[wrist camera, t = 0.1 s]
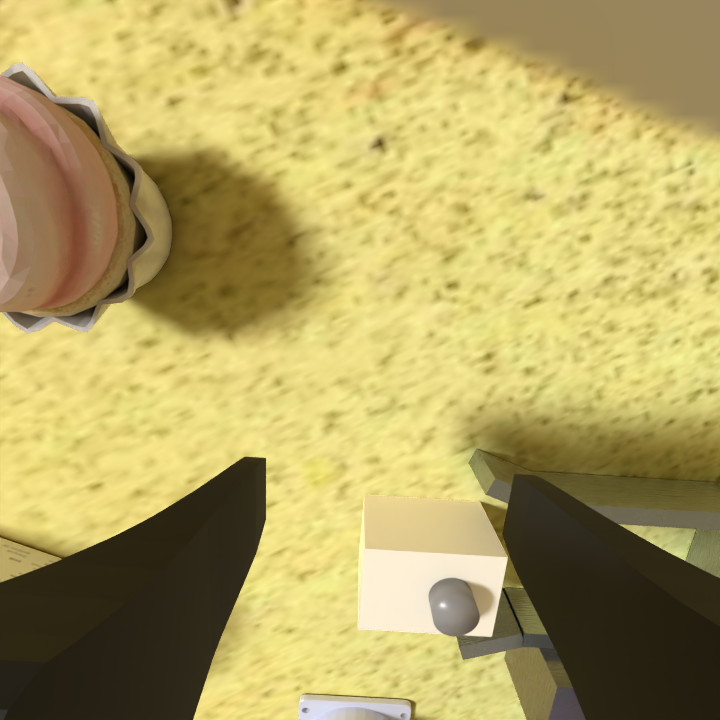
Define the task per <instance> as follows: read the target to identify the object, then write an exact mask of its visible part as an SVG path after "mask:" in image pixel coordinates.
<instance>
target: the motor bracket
mask: <svg viewBox="0 0 720 720" xmlns="http://www.w3.org/2000/svg"><path fill="white" fill-rule="evenodd" d="M469 465H470V466H471V468H472V470H473V472H474V474H475V476H476V477H477V479H478V481H479V483H480V485H481V487H482V489H483V490H484V492H485V494H486V495H488V496H491V497H493V498H496V499H498V500H501V501H503V502H506V503H509V498H510V493H511V488H512V482H513V477H514V474H526V475H536V476H538V477H540V478H542V479H544V480H546V481H548V482H549V483H551V484H553V485H555V486H556V487H558V488H560V489H561V490H563V491H565V492H566V493H568V494H569V495H571V496H573V497H574V498H576V499H577V500H579V501H581V502H582V503H584V504H586V505H587V506H589V507H590V508H592V509H594V510H595V511H597V512H599V513H600V514H602V515H603V516H605V517H607V518H608V519H610V520H612V521H613V522H615V523H617V524H625V525H642V526H659V527H676V528H693V529H697V530H696V533H695V536H694V539H693V541H692V544H691V547H690V550H689V553H688V556H687V559H686V562H688V563H690V564H692V565H694V566H696V567H698V568H700V569H702V570H704V571H706V572H708V573H710V574H712V575H714V576H717V577H719V578H720V482H705V481H689V480H672V479H656V478H639V477H623V476H606V475H590V474H573V473H557V472H540V471H529V470H527V469H524V468H522V467H519V466H517V465H515V464H512V463H510V462H507V461H505V460H502V459H500V458H498V457H495V456H493V455H490V454H488V453H486V452H483V451H481V450H478V449H476V451H475V453H474V455H473V456H472V458H471V460H470V462H469ZM457 640H458V644H459V648H460V651H461V655H462V658H463V660H465V659H469V658H474V657H479V656H483V655H488V654H493V653H498V652H502V651H506V655H505V661H506V664H507V667H508V670H509V672H510V675H511V678H512V681H513V683H514V686H515V689H516V692H517V694H518V697H519V700H520V703H521V705H522V708H523V711H524V714H525V716H526V719H527V720H586V719H585V717H584V714H583V712H582V709H581V707H580V704H579V702H578V699H577V697H576V694H575V692H574V689H573V687H572V684H571V682H570V680H569V677H568V675H567V673H566V671H565V669H564V667H563V664H562V662H561V660H560V658H559V656H558V654H557V652H556V650H555V648H554V646H553V644H552V642H551V640H550V638H549V636H548V634H547V632H546V630H545V628H544V626H543V624H542V622H541V620H540V618H539V616H538V614H537V612H536V610H535V608H534V606H533V605H532V603H531V601H530V599H529V597H528V595H527V593H526V591H525V589H518V588H504V592H503V590H501V594H500V599H499V604H498V609H497V614H496V619H495V624H494V629H493V634H492V637H484V636H467V635H462V636H457Z"/></svg>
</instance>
